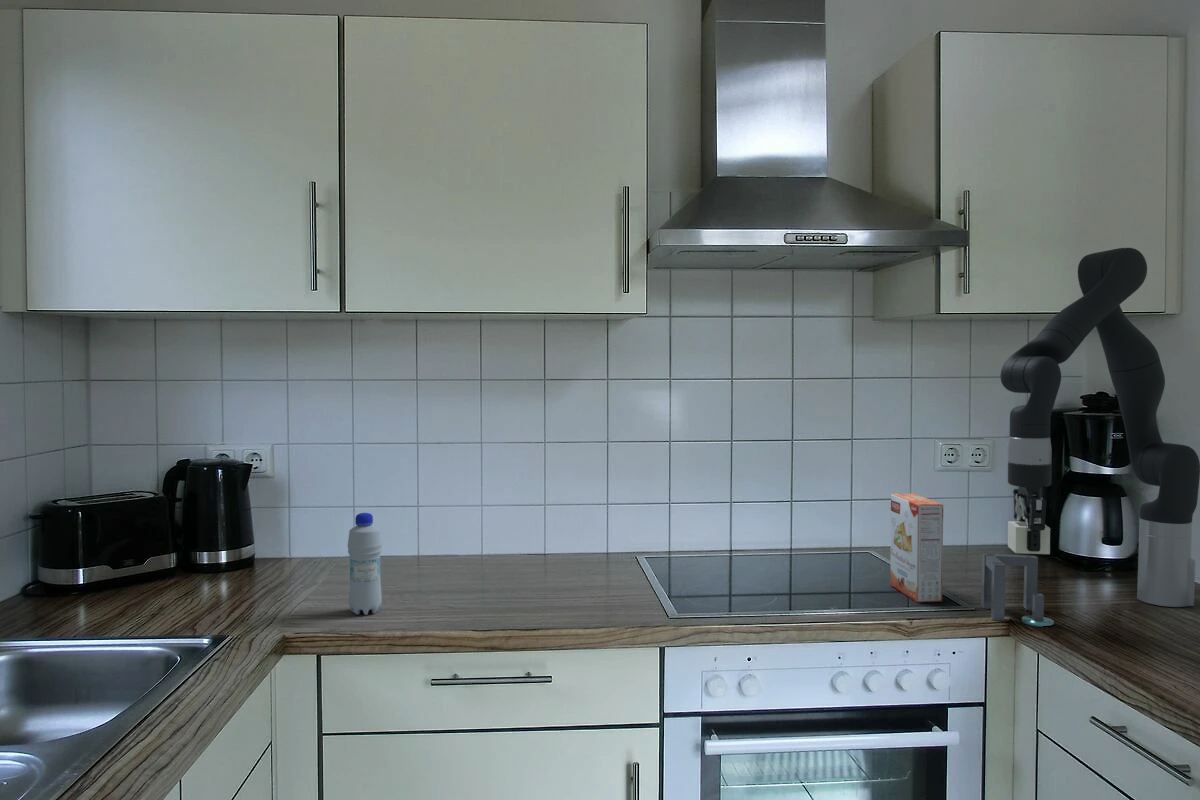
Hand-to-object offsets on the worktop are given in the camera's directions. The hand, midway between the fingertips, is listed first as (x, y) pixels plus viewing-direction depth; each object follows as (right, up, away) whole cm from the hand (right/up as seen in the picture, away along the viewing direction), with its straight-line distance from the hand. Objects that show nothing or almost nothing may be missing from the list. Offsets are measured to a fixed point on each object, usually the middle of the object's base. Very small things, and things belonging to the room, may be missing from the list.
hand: (1028, 546), depth 168 cm
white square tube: (0, -1, 0) cm, 1 cm away
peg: (+2, -15, 0) cm, 15 cm away
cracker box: (-15, -14, +20) cm, 29 cm away
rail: (0, -14, +5) cm, 15 cm away
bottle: (-130, -14, +7) cm, 131 cm away
